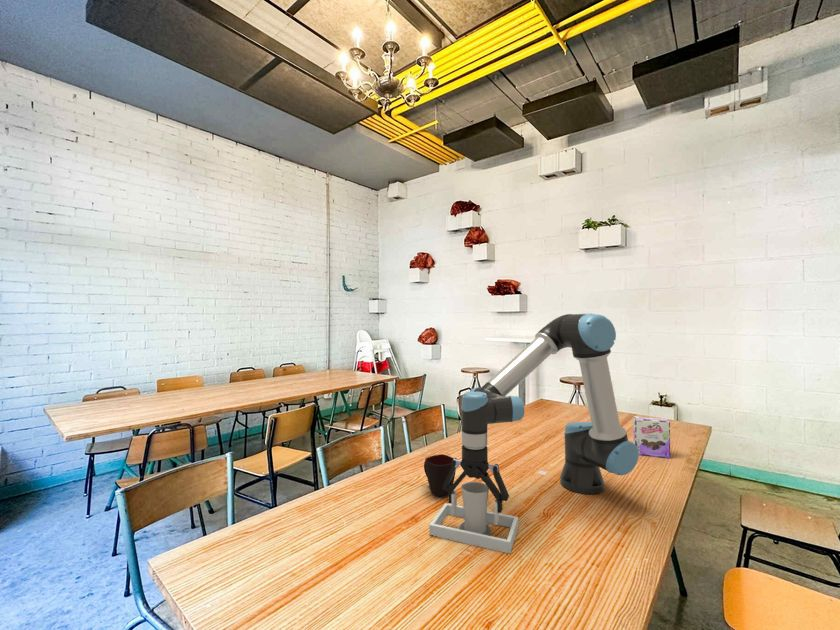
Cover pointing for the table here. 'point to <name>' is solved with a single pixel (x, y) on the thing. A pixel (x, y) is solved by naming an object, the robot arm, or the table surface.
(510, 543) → the open rectangular frame
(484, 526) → the cup
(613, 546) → the table surface
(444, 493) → the mug
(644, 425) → the candy box
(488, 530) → the pad
